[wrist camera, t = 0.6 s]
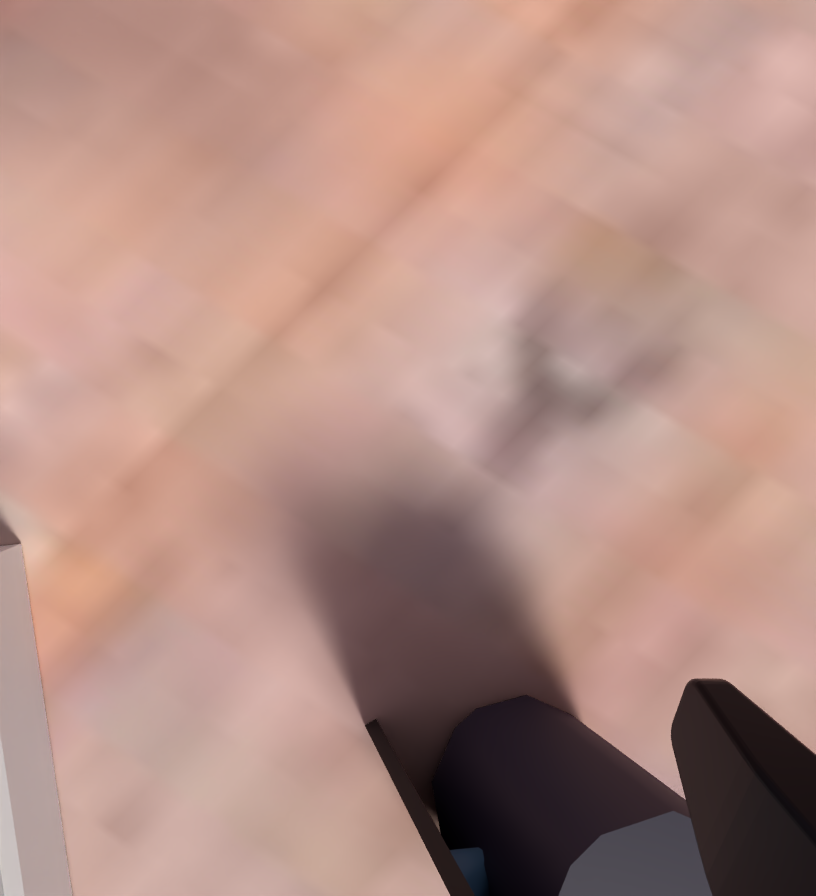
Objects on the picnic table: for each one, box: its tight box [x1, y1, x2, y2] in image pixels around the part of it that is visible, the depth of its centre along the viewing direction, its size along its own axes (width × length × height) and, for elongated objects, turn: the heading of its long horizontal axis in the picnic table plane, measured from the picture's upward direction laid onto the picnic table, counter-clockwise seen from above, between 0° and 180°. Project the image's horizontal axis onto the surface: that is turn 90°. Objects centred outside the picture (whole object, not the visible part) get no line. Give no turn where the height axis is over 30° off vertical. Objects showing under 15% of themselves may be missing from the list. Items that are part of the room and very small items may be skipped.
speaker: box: [365, 695, 712, 896], centre depth 18 cm, size 8×6×10 cm
